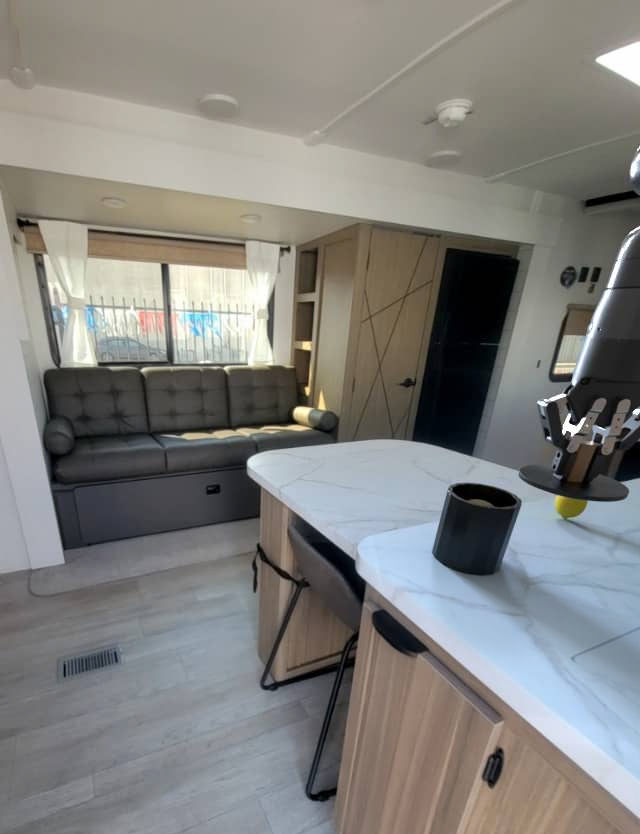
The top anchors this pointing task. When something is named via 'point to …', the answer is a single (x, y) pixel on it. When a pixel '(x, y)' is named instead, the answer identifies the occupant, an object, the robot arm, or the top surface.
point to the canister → (475, 528)
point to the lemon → (569, 506)
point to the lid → (576, 479)
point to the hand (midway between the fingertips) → (571, 478)
